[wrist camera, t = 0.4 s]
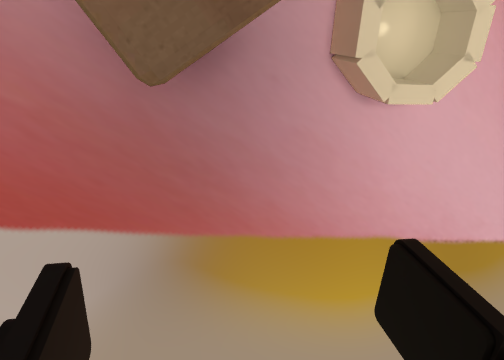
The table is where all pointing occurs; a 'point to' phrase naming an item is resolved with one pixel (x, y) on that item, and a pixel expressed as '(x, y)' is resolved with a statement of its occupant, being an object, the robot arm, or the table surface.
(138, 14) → the wooden block
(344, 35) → the bowl
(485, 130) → the table surface
